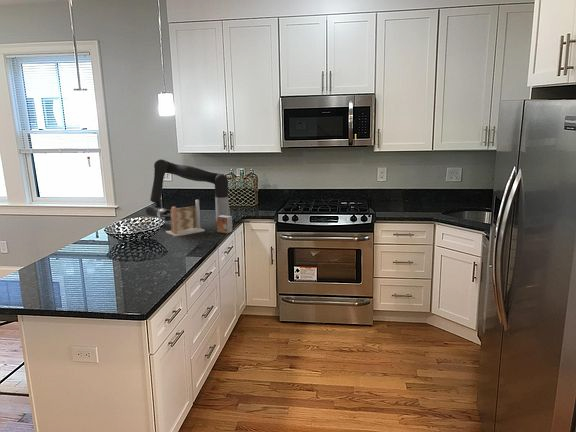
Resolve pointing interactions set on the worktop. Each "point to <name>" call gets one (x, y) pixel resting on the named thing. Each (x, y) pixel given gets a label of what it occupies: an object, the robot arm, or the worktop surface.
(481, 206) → the worktop surface
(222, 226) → the small box
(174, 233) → the gate frame
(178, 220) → the panel
